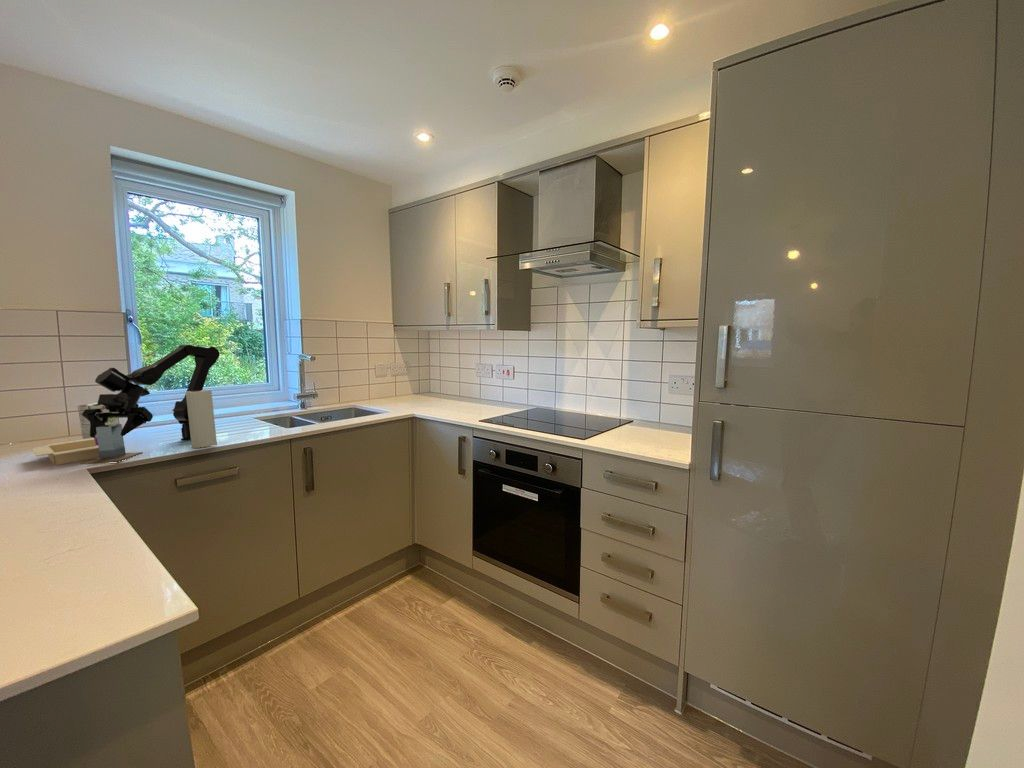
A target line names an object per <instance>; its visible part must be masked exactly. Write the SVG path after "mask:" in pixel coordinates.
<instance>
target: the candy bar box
mask: <svg viewBox="0 0 1024 768" xmlns="http://www.w3.org/2000/svg"><path fill="white" fill-rule="evenodd" d="M97 403H98V401H97V402H93V403H92V402H91V403H88V404H80V405H77V410H78V411H77V412H78V416H79V417H78V418H79V423H80V428H81V435H82V439H88V438H94V439H95V443H96V445H97V446H98V439H97V434H96V435H95V436H94V437H91V436H90V421H89V420H87V419H86V418H85V417H84V416H82V414H83V412H84V410H85V409H100V410H101V411H103V412H109V410H107V409H105V407H106V406H104V405H101V404H97ZM105 424H106V425H110V424H121V423H120V418H108V420H107V422H105Z"/></svg>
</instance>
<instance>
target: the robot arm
mask: <svg viewBox="0 0 1024 768" xmlns="http://www.w3.org/2000/svg"><path fill="white" fill-rule="evenodd" d="M220 354H221V353H220V351H219V349H218V348H217V347H215V346H197V345H191V344H180V345H179V346H178V347H177V348H175V349H173V350H172V351H171V352H169V353H168V354H166V355H165V356H163V357H162V358H160V359H158V360H156V361H155V362H154V363H151V364H148V365H145V366H143V367H140V368H138V369H135V370H133V371H132V372H131V373H130V374H126V375H125V374H124V373H122V372H120V370H118V369H116V368H115V367H109V368H108V369H107V370H104V371H103V372H102V373H100V374H98V376H96V378H95V381H94V382H95V383H96V384H98V385H99V386H102V387H103V388H105V389H107V390H108V391H110V392H112V393H109V394H108V393H105V394H99V395H98V399H97V402H98V403H97V402H96V403H97V404H101V405H104V406H106V407H105V409H107V410H109V412H103V411H101V410H100V409H85V410H84V412H83V414H82V416H84V417H85V418H86V419H87V420H89V421H90V436H91V437H94V436H95V435H96V434H97V432H96V427H100V426H104V425H106V424H105V422H107V420H108V418H119V419H126V422H125V424H124V426H122V431H121V435H122V436H123V437H124V436H126V435H127V434H129V433H130V432H132V431H133V430H135V429H137V428H138V427H140V426H142V425H144V424H146V423H147V422H152V420H153V417H154V415H153V413H152V412H151V411H149V409H148V408H147V407H145V406H140V405H139V404H138V401H139V400H140V399H141V398H142V397H145V396H148V395H150V394H151V393H150V391H149V390H148V387H143V386H152V385H155V384H156V383H157V382H158V381H159V380H161V378H162V377H163V375H164V373H165V372H166V371H168V370H169V369H171V368H172V367H174V366H175V365H177V364H179V363H180V362H181V361H183V360H184V359H186V358H187V357H189V356H190V357H194V358H193V359H194V363H195V367H194V370H193V372H192V376H191V378H190V381H189V382H188V383H189V384H188V386H187V390H186V392H187V391H193V390H204V385H205V384H206V380H207V378H208V375H209V372H210V369H211V368H212V367H213V366H214V365H215V364H216V363H217V361H218V359H219V358H220V356H221V355H220ZM113 392H118V393H116V394H115V393H114V394H113ZM171 411H172V412H173V413H172V415H173V417H174V419H176V420H177V421H178V423H179V424H180V425H181V429H180V431H181V437H182V438H180V441H186V440H187V439H191V436H190V427H189V418H188V409H187V399H186V393H185V395H184V397H183V398H182V399H181V400H180V401H175V403H174V406H173V409H172V410H171ZM187 441H188V440H187Z"/></svg>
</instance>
